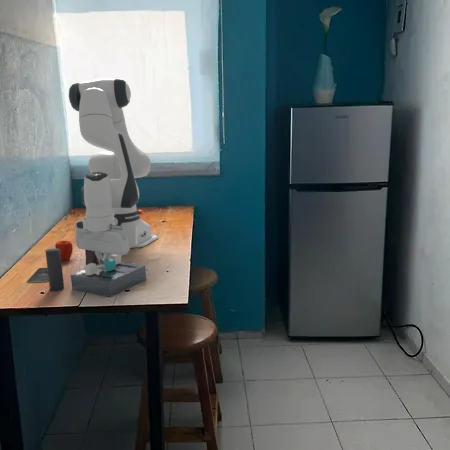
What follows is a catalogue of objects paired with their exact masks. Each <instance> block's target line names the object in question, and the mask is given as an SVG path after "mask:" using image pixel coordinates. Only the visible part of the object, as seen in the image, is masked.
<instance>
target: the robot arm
mask: <svg viewBox="0 0 450 450" xmlns="http://www.w3.org/2000/svg"><path fill="white" fill-rule="evenodd" d="M131 93H132V91H131V88H130V85H129V84H128V81H126V80H125V79H124V78H120V77H114V78H97V79H92V80H87V81H82V82H80V81H77V82H74V83H73V84H71V85H70V87H69V89H68V101H69V103H70V105H71V107H72V109H73V110H74V111H77V112H78V123H79V125H78V126H79V130H80V135H81V137H82V138H83V139H84V140H85V142H86V143H88V144H89V145H91V146H94V147H96V148H100V149H102V150H103V151H98V152H95V153H92V154H91V155H90V156H89V160H88V165H87V166H88V170H89V172H90V173H87V174H86V175H85V176H84V180H83V186H82V187H81V188H80V193H81V203H82V204H83V205H84V206H85V218H84V219H80V220H78V221H74V228H75V232H74V233H75V245H76V247H77V248H78V249H79V250H84V251H85V250H91V251H95V255H96V257H97V258H98V261H99V264H100V265H104V261H107V260H109V259H111V258H110V256H111V255H113V254H116V255H121V256H123V255H127V254H128V253H129V251H130V249H131V248H143V247H146V246H147V245H148V244H150V243H152V242H154V241H155V240H157V239H159V238H158V236H157V235H156V234H153V233H152V227H151V225H150V224H149V223H148V222H146V221H144V220H143V219H142V218H141V217H140V216H142V215H144V210H143V209H138V210H137V204H138V203H139V201H140V200H139V199H140V189H139V186H138V183H137V181H136V179H137V178H139V179H140V178H143V177H146V176H148V174H149V173H150V171H151V166H152V163H151V159H150V157H149V155H148V154H147V153H146V152H144V151H143V150H141V149H140V148H139V147H138V146H137V145H135V143H134V142H133V141H132V138H130V135H129V132H128V131H129V130H128V127H127V124H126V119H125V115H124V111H123V110H124V109H123V108H125V107H127V106H128V105H129V103H130V101H131V97H132V94H131ZM102 253H103V255H104V258H103V256H102Z"/></svg>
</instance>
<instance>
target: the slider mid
mask: <svg viewBox="0 0 450 450" xmlns="http://www.w3.org/2000/svg"><path fill="white" fill-rule="evenodd" d="M104 265H105V270H106V271H111V270H114V269H116V264H115V260H113V259H111V258H109V260H107V261H104Z"/></svg>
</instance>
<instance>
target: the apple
mask: <svg viewBox="0 0 450 450" xmlns="http://www.w3.org/2000/svg"><path fill="white" fill-rule="evenodd" d="M55 248H58V249H60V255H61V262H66V261H69V260H70V259H71V257H72V254H73V243H72V241H70V240H59V241H57V242H56V243H55Z"/></svg>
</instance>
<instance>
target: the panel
mask: <svg viewBox="0 0 450 450" xmlns="http://www.w3.org/2000/svg"><path fill="white" fill-rule="evenodd" d="M96 269H97V273H95V274H93V275H85V268H84V269H82V270H78V271H76V272H74V273H72V274H70V280H71V283H70V284H71V290H73V291H79V292H82V293H83V292H84V293H87V294H92V295H96V296H97V295H98V296H102V297H107V298H111V297H113V296H115V295H117V294H120V293H122V292H124V291H126V290H128V289H130V288H132V287H134V286H137V285H138V284H140V283H142V282H144V281H147V271H146V269H147V268H146V265H145V264H138V263H133V262H128V261H127V262H126V261H121V263H119V264H117V265H116V269H114V270H111V271H106V270H105V265H100V264H97V265H96Z"/></svg>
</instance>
